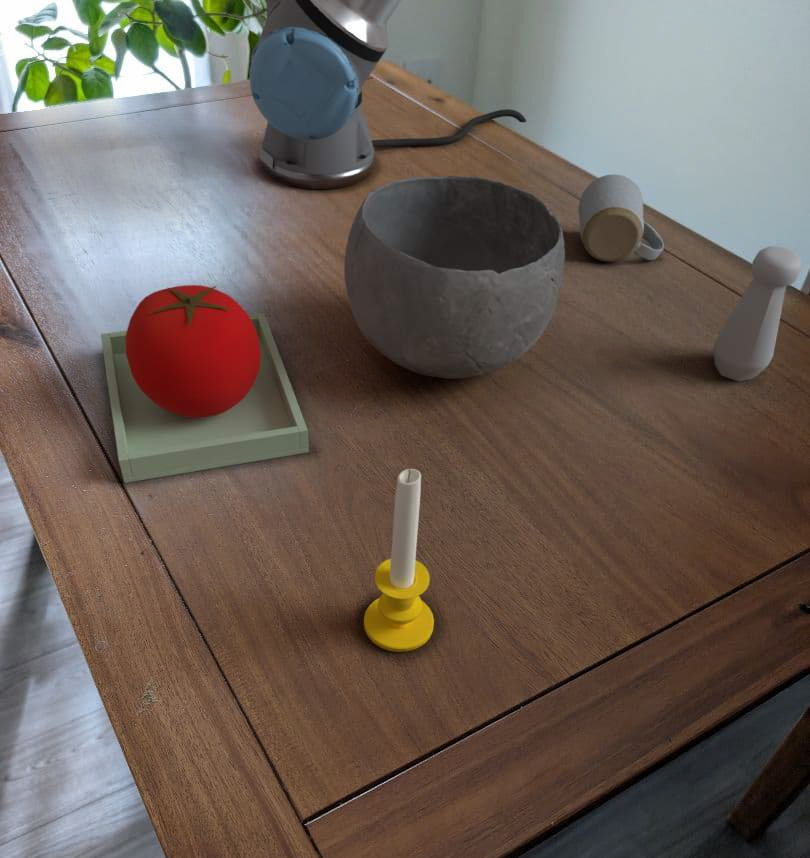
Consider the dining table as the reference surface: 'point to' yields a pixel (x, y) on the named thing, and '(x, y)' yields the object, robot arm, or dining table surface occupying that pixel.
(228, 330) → the tomato
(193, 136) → the dining table surface
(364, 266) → the bowl
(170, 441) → the tray
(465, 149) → the dining table surface
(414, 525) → the candle
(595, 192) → the ceramic mug
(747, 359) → the salt shaker
